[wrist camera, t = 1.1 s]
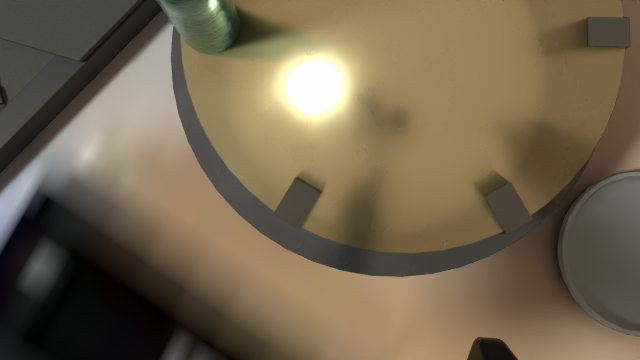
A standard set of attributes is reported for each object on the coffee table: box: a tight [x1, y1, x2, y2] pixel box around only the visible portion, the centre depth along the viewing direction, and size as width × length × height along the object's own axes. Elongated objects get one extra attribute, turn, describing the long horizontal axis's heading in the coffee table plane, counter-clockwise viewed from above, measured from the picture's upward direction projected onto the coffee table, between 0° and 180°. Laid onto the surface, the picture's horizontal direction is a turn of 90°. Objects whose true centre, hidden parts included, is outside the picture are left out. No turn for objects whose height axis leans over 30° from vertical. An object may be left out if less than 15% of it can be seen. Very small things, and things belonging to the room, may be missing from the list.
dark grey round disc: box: [171, 26, 595, 277], centre depth 21 cm, size 17×18×3 cm
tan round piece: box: [156, 0, 630, 253], centre depth 15 cm, size 15×15×10 cm
